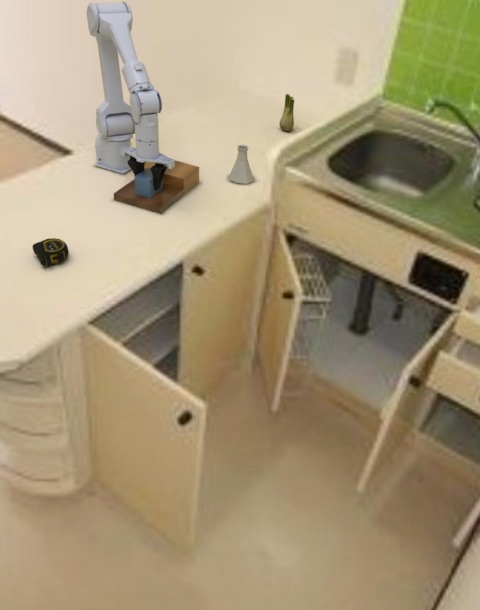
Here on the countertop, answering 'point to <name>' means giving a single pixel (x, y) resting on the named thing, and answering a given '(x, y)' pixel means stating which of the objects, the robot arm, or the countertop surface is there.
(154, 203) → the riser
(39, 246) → the tape measure
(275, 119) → the countertop surface
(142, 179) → the blue box
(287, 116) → the fennel bulb
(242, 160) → the flask
